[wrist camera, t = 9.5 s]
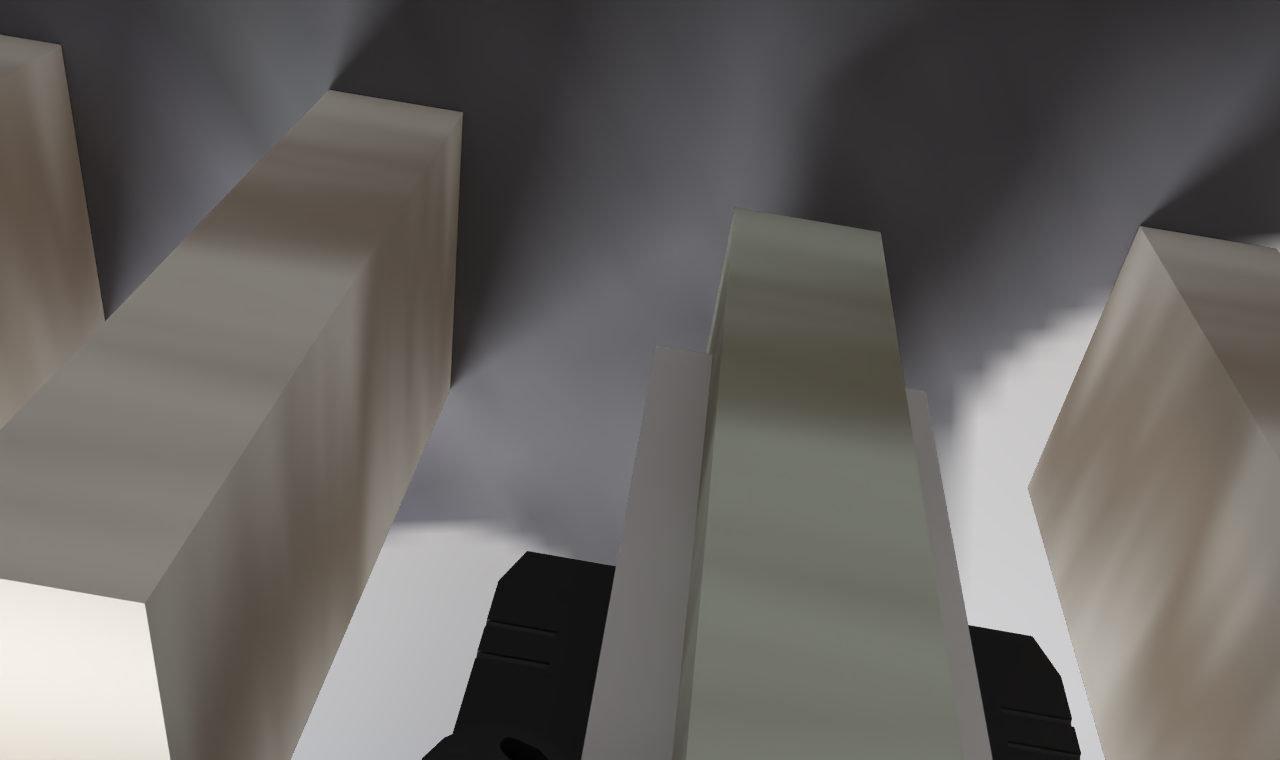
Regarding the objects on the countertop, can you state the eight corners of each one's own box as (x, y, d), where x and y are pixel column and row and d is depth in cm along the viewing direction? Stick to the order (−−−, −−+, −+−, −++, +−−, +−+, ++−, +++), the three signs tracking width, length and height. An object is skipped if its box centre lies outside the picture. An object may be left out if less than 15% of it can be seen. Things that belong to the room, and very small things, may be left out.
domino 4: (1140, 225, 16) (1505, 838, 8) (1276, 248, 16) (1780, 886, 8) (1027, 488, 19) (1213, 1138, 11) (1143, 507, 19) (1418, 1175, 11)
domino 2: (328, 89, 17) (-122, 557, 8) (463, 112, 17) (144, 602, 8) (335, 369, 19) (3, 925, 11) (450, 389, 19) (204, 961, 11)
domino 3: (734, 207, 15) (673, 890, 7) (880, 232, 15) (994, 946, 7) (678, 489, 18) (588, 1214, 10) (801, 510, 18) (815, 1256, 10)
